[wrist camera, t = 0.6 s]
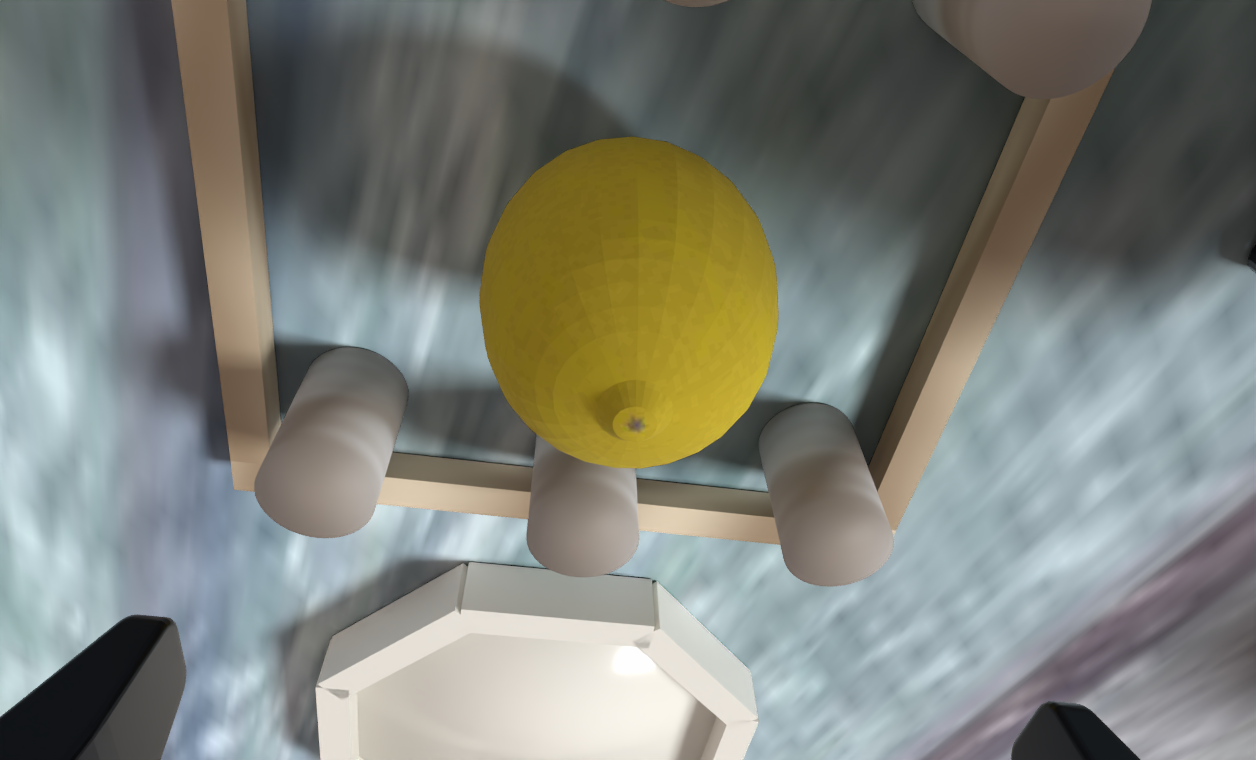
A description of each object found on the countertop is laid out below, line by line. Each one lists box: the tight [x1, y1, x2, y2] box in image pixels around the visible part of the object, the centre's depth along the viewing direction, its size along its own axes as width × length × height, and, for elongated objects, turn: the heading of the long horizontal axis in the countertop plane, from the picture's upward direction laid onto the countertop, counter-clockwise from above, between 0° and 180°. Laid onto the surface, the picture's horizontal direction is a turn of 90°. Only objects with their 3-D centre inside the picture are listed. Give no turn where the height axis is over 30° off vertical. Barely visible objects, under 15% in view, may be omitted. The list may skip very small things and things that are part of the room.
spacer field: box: [171, 0, 1152, 586], centre depth 18 cm, size 18×18×4 cm
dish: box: [315, 562, 759, 760], centre depth 30 cm, size 14×14×2 cm
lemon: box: [480, 137, 778, 468], centre depth 16 cm, size 6×6×8 cm
